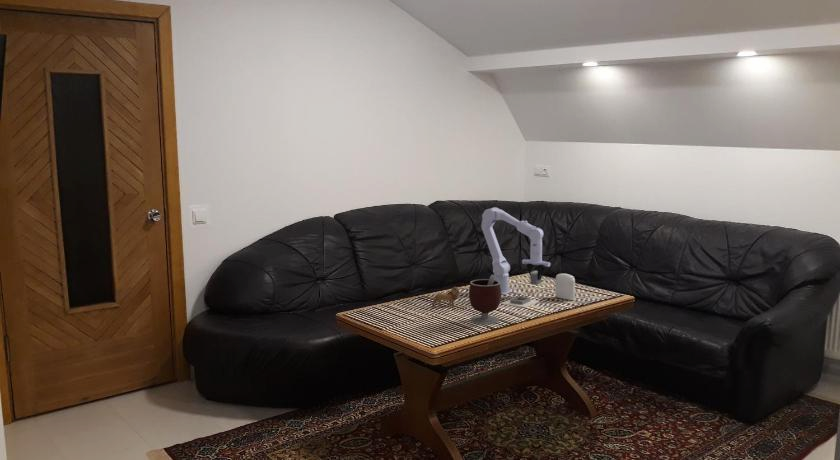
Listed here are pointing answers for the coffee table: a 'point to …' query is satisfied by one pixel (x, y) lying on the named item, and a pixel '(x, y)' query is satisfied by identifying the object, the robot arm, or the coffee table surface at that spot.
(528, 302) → the plate
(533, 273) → the block
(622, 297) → the coffee table surface
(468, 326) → the coffee table surface
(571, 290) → the photo printer
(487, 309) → the mate gourd
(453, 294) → the lion figurine
